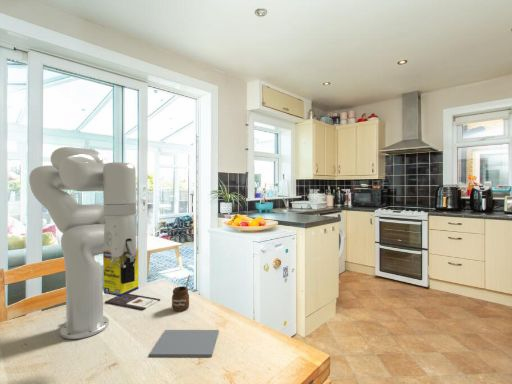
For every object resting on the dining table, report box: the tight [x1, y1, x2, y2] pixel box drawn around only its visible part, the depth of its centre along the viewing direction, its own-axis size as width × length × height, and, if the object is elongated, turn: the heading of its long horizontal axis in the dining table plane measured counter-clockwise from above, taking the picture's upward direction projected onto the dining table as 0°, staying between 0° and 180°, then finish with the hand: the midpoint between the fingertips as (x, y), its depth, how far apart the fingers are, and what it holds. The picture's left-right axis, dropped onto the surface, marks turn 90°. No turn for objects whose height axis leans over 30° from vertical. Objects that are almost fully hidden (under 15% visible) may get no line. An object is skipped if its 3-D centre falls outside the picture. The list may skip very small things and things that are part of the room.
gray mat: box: [149, 329, 220, 358], centre depth 77 cm, size 16×12×1 cm
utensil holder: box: [171, 274, 191, 313], centre depth 99 cm, size 6×6×12 cm
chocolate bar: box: [104, 293, 161, 311], centre depth 105 cm, size 9×1×18 cm
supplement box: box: [102, 248, 139, 297], centre depth 72 cm, size 6×6×11 cm
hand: (121, 278), depth 72 cm, fingers closed on supplement box, 7 cm apart
